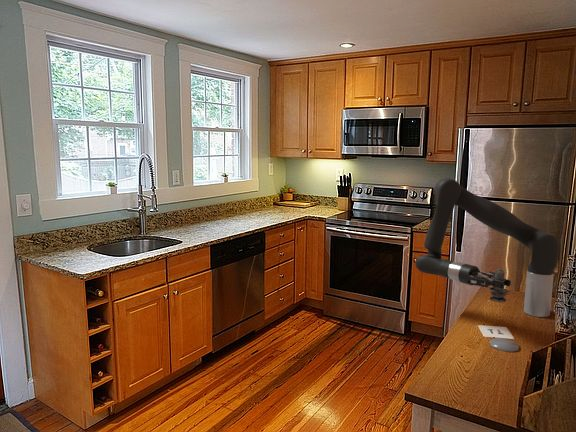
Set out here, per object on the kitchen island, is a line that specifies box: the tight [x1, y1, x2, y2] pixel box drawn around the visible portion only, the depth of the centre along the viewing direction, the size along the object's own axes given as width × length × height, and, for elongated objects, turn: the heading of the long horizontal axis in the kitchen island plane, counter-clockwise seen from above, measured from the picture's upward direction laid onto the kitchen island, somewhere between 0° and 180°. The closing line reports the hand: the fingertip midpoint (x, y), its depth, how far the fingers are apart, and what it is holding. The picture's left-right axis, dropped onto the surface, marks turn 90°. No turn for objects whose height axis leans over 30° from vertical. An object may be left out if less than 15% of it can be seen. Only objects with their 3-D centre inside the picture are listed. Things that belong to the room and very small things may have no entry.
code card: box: [477, 324, 515, 340], centre depth 158 cm, size 10×10×1 cm
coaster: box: [489, 338, 520, 353], centre depth 148 cm, size 9×9×1 cm
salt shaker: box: [489, 266, 508, 303], centre depth 155 cm, size 6×6×12 cm
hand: (506, 284), depth 153 cm, fingers closed on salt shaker, 3 cm apart
